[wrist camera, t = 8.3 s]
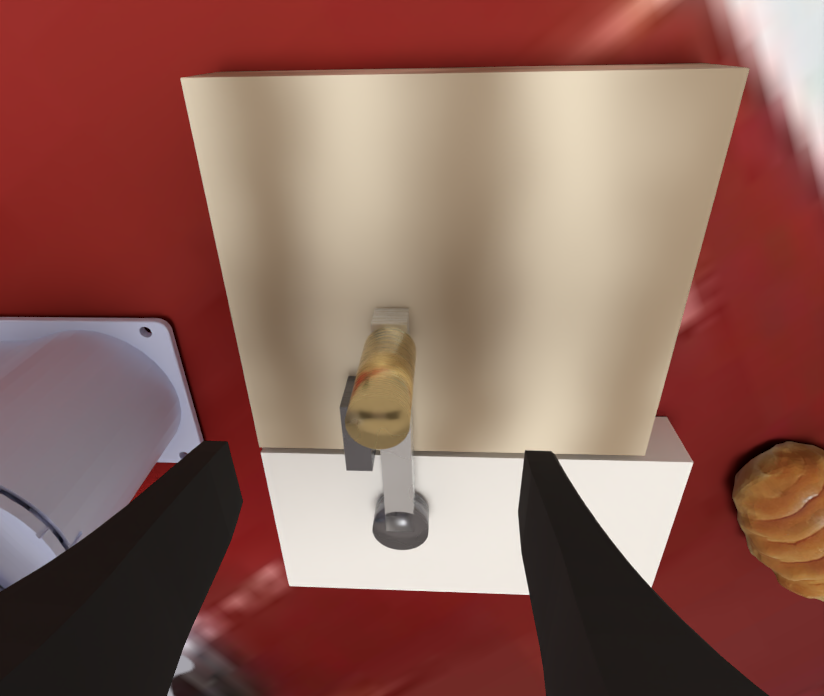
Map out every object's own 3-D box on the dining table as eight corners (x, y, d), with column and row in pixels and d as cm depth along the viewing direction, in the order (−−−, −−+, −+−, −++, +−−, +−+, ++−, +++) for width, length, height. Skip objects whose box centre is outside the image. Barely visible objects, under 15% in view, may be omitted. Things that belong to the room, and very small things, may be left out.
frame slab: (302, 538, 30) (289, 586, 27) (279, 409, 25) (260, 452, 23) (629, 548, 29) (647, 599, 26) (666, 416, 24) (693, 462, 22)
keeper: (354, 436, 22) (346, 470, 20) (348, 376, 20) (339, 407, 19) (378, 436, 22) (372, 471, 20) (374, 376, 20) (367, 407, 19)
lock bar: (429, 528, 24) (425, 640, 20) (377, 527, 24) (362, 638, 20) (426, 308, 18) (419, 395, 14) (357, 308, 19) (330, 394, 14)
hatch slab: (278, 405, 25) (259, 447, 22) (218, 71, 18) (180, 77, 15) (623, 410, 24) (644, 455, 22) (703, 63, 17) (749, 67, 14)
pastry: (684, 481, 26) (719, 544, 23) (817, 404, 24) (877, 462, 20) (781, 570, 29) (824, 637, 26) (909, 510, 27) (975, 577, 23)
